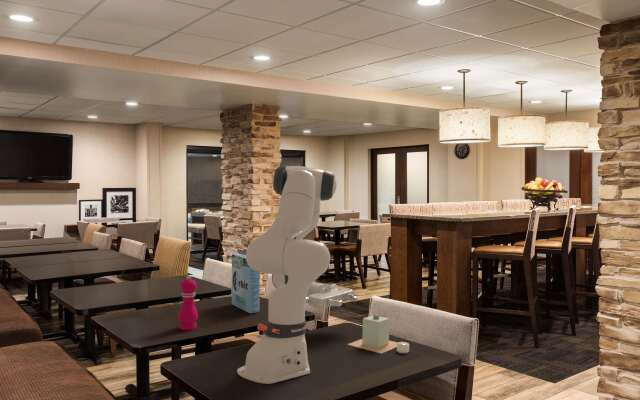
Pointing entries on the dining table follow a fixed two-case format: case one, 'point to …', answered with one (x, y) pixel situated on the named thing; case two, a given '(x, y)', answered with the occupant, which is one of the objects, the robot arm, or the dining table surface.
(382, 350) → the mat
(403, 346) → the cream short cylinder
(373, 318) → the pale green square canister
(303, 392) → the dining table surface
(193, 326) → the pepper mill
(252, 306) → the gum box
